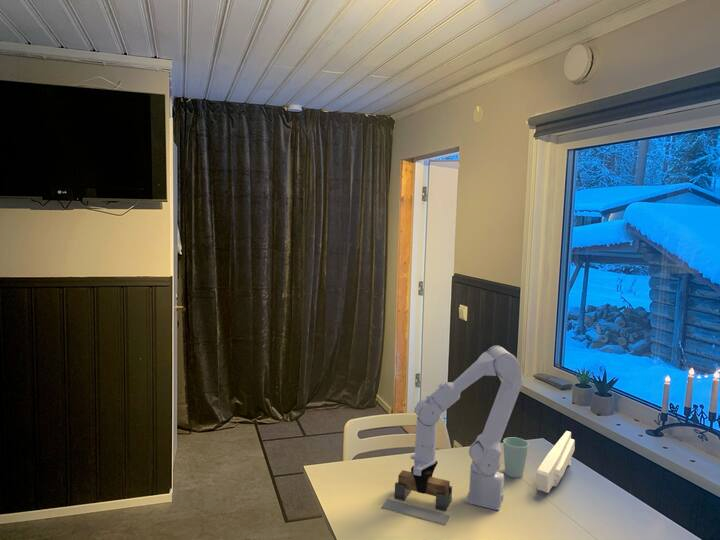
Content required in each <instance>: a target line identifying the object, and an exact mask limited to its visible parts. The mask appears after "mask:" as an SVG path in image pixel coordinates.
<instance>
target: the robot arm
mask: <svg viewBox="0 0 720 540" xmlns="http://www.w3.org/2000/svg"><path fill="white" fill-rule="evenodd" d="M483 376H484V377H485V376H489V377H490V376H491V377H496V376H497V377H498V378H499V381H500V386H499V388H498V390H497V394H496V397H495V398H494V402H493V405H492V407H491V409H490V412H489V415H488V417H487V419H486V423H485V426H484V428H483V431H482V433H480V434H479V435H477V437H476V439H475V441H474V442H473V443H471V444H470V446H469V450H468V455H469V457H470V458H471V461H472V462H471V464H470V471H469V488H468V489H469V490H468V494H467V495H466V498H465V499H464V502H465V504H466V503H467V504H471V505H475V506H478V507H483V508H486V509H490V510H495V511H499V510H500V508H501V506H502V502H503V500H504V488H505V474H504V472H503V473H502V472H499V470H500V467H501V461H500V458H501V455H502V449H501V448H502V446H501V442H502V438H503V435H504V433H505V430H506V428H507V426H508V424H509V423H508V422H509V420H510V418H511V415H512V413H513V410H514V407H515V404H516V402H517V400H518V396H519V394H520V391H521V388H522V387H523V379H522V373H521V363H520V362H519V360H518V359H517V357H516V356H515V355H514V354H512V353H510V352H509V351H508V350H506V349H505V348H504V347H502V346H501V345H493V346H491V347H489V348H488V349H487V351H484V352H483V353H481V354H480V356H478V358H477V360H475V362H473V363H472V364H471V365H470V366H469V367H468V368H466V369H465V370H464V371H463V373H461V374H460V375H459V376H458V377H457V378H456V379H455V380H454V381H450V382H448V381H447V382H445V383H440V384H439V385H438V388H437V389H436V390H435V391H433V392H432V393H431V394H430V395H427V396H425V398H424V399H423V398H422V399H421V400H419V401H417V404H416V405H415V407H414V411H415V414H416V416H417V417H416V427H415V442H414V443H415V444H414V453H412V454H411V455H410V459H411V460H413V465H412V467H411V468H410V472H411V473H412V474H413V476H414V479H415V483H416V488H417V493H418V494H419V493H420V494H423V495H424V494H425V491H426V488H427V482H428V479H429V476H430V477H433V474H434V471H435V469H436V467H437V465H438V463H439V462H438V461H437V460H436V458H437V457H436V451H437V450H436V449H437V448H436V446H437V442H436V441H437V429H438V428H437V424H438V422H439V420H440V419H441V415H442V414H443V413H444V412H445V411H447V409H449V408H450V407H451V406H452V405H454V404H455V403H456V402H458V400H460V398H461V393H462V392H463V391H464V390H465V389H467V388H468V387H469V386H471V385H472V384H474V383H475V382H477V381H478V380H479V379H481V378H483Z"/></svg>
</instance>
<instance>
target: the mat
mask: <svg viewBox="0 0 720 540" xmlns="http://www.w3.org/2000/svg"><path fill="white" fill-rule="evenodd" d="M380 509H382V510H385V511H386V510H387V511H389V512H394V513H397V514H401V515H405V516H409V517H413V518H417V519H420V520H424V521H427V522H432V523H436V524H439V525H442V526H446V525H447V522H448V521H449V518H450V516H451V514H448V513H445V512H442V511H438V510H432V509H428V508H425V507H421V506H417V505H413V504H409V503H406V502H403V501H399V500H398V501H397V500H395V499H390V498H387V499H386V500H385V501H384V502H383V504H381V507H380Z"/></svg>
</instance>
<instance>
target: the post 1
mask: <svg viewBox="0 0 720 540" xmlns="http://www.w3.org/2000/svg"><path fill="white" fill-rule="evenodd" d="M411 493H412V490H408V489H406V484H402V483H398V481H397V482H396V481H395V483H394V499H393V500H398V501H401V502H405V501H406V500H407V498H408V496H410V494H411Z"/></svg>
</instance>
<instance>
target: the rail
mask: <svg viewBox="0 0 720 540" xmlns="http://www.w3.org/2000/svg"><path fill="white" fill-rule="evenodd" d="M397 477H398V478H397V482H398V483H402V484H406V489H408V490H411V492H417V488H416V483H415V479H414V476H413V474H412V473H411V471H407V470H404V469H402V470H401V471H400V473H398V476H397ZM450 484H451V481H450V480H447V479H443V478H438V477H434V476H432V477H430V476H429V479H428V482H427V488H426V491H425V494H426V495H430V496H433V497H436V493H437V492H439V493H443V494H447V495H448V494H449V486H451V485H450ZM417 493H418V492H417Z"/></svg>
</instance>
